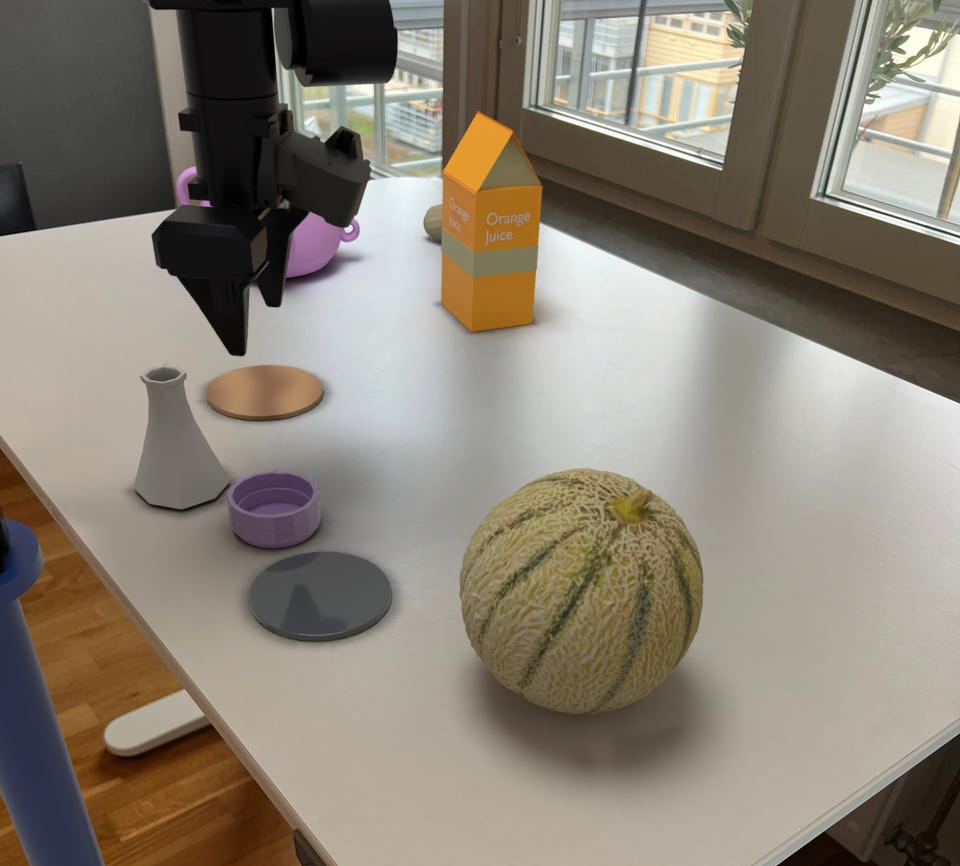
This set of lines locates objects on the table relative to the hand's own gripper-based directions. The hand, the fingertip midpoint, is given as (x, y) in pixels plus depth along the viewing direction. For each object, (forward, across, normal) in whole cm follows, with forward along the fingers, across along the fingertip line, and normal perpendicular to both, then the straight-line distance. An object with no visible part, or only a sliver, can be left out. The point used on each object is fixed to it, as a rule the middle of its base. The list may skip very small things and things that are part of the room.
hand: (256, 329), depth 73 cm
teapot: (+14, +50, +14) cm, 54 cm away
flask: (+14, 0, +8) cm, 16 cm away
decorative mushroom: (+14, +63, -9) cm, 65 cm away
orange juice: (+14, +42, -13) cm, 46 cm away
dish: (+14, -5, -2) cm, 15 cm away
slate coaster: (+14, -13, -7) cm, 20 cm away
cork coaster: (+14, +18, +6) cm, 23 cm away
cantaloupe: (+14, -19, -25) cm, 35 cm away
